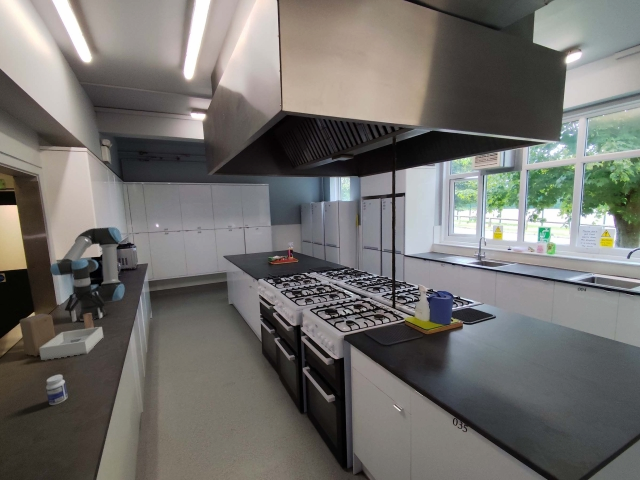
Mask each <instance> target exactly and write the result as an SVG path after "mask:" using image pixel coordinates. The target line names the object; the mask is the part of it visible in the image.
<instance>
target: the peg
mask: <svg viewBox="0 0 640 480" xmlns="http://www.w3.org/2000/svg"><path fill="white" fill-rule="evenodd" d="M83 317H84V329H89V328H95V327H94V320H92V313H87V314H84V315H83Z"/></svg>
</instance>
